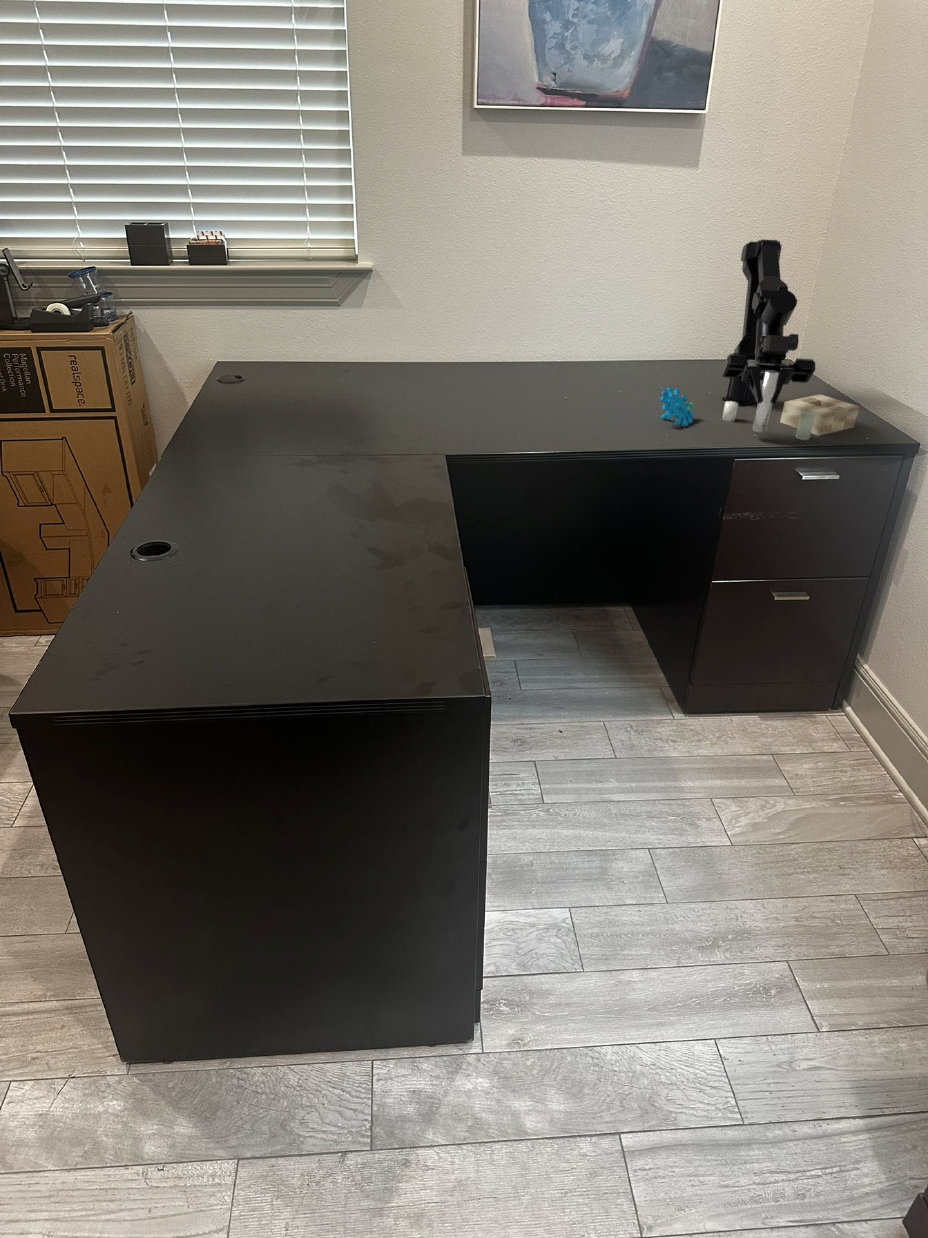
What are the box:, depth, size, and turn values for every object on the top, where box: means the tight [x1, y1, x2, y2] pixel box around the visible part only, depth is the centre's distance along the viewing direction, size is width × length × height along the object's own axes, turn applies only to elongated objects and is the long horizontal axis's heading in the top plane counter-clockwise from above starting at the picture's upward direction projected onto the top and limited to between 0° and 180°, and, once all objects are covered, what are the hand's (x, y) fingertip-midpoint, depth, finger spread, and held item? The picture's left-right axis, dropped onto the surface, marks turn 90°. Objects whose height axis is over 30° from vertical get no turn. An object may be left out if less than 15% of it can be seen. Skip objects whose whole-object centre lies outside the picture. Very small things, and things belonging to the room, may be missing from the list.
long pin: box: [752, 370, 779, 433], centre depth 184 cm, size 3×3×13 cm
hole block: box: [779, 393, 860, 437], centre depth 197 cm, size 11×13×5 cm
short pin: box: [721, 400, 739, 423], centre depth 199 cm, size 3×3×4 cm
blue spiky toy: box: [660, 386, 695, 428], centre depth 196 cm, size 11×6×10 cm
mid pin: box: [795, 412, 815, 441], centre depth 188 cm, size 3×3×6 cm
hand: (766, 402), depth 183 cm, fingers closed on long pin, 3 cm apart
